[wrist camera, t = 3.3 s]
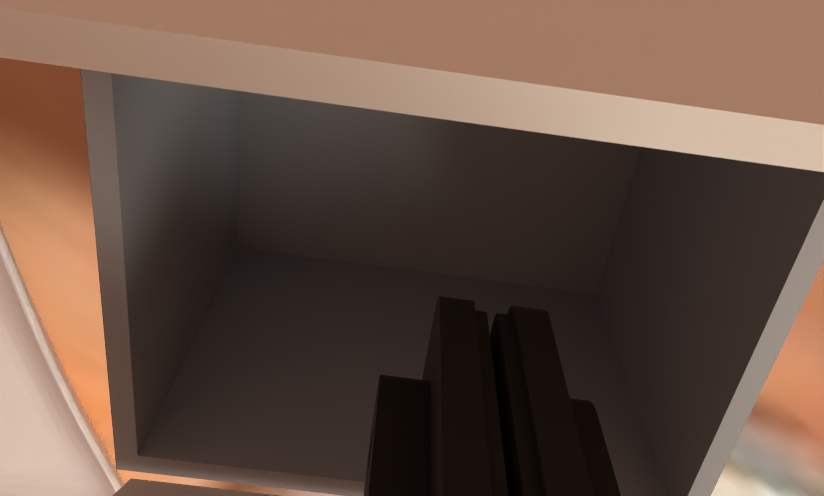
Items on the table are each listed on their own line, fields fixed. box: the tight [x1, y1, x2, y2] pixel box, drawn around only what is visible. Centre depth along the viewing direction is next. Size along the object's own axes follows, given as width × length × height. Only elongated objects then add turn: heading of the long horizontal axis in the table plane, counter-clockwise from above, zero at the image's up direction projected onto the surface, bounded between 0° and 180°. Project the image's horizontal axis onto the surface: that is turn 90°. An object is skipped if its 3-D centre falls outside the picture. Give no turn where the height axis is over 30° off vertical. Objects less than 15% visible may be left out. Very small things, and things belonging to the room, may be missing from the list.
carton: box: [81, 69, 824, 496], centre depth 21 cm, size 16×18×12 cm
